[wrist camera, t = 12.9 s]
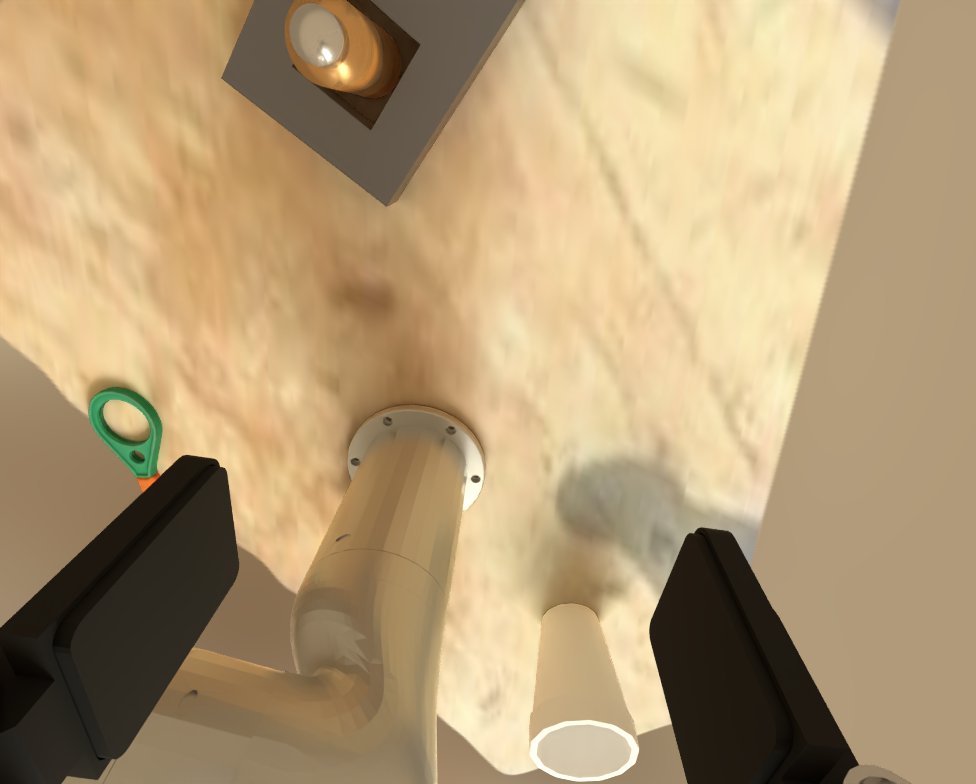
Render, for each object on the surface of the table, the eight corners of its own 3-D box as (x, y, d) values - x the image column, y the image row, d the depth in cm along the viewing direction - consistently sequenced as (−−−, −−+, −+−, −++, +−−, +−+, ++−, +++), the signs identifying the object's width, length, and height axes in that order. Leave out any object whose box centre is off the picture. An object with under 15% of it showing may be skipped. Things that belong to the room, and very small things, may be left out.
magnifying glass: (86, 385, 45) (71, 393, 44) (151, 385, 45) (138, 394, 43) (143, 515, 52) (132, 527, 51) (199, 517, 52) (190, 528, 50)
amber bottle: (380, 112, 34) (331, 104, 25) (328, 69, 33) (258, 45, 24) (412, 54, 32) (373, 24, 23) (359, 8, 31) (296, -42, 22)
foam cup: (631, 623, 55) (661, 753, 43) (571, 662, 58) (584, 792, 47) (568, 579, 52) (582, 705, 41) (509, 623, 56) (507, 750, 44)
